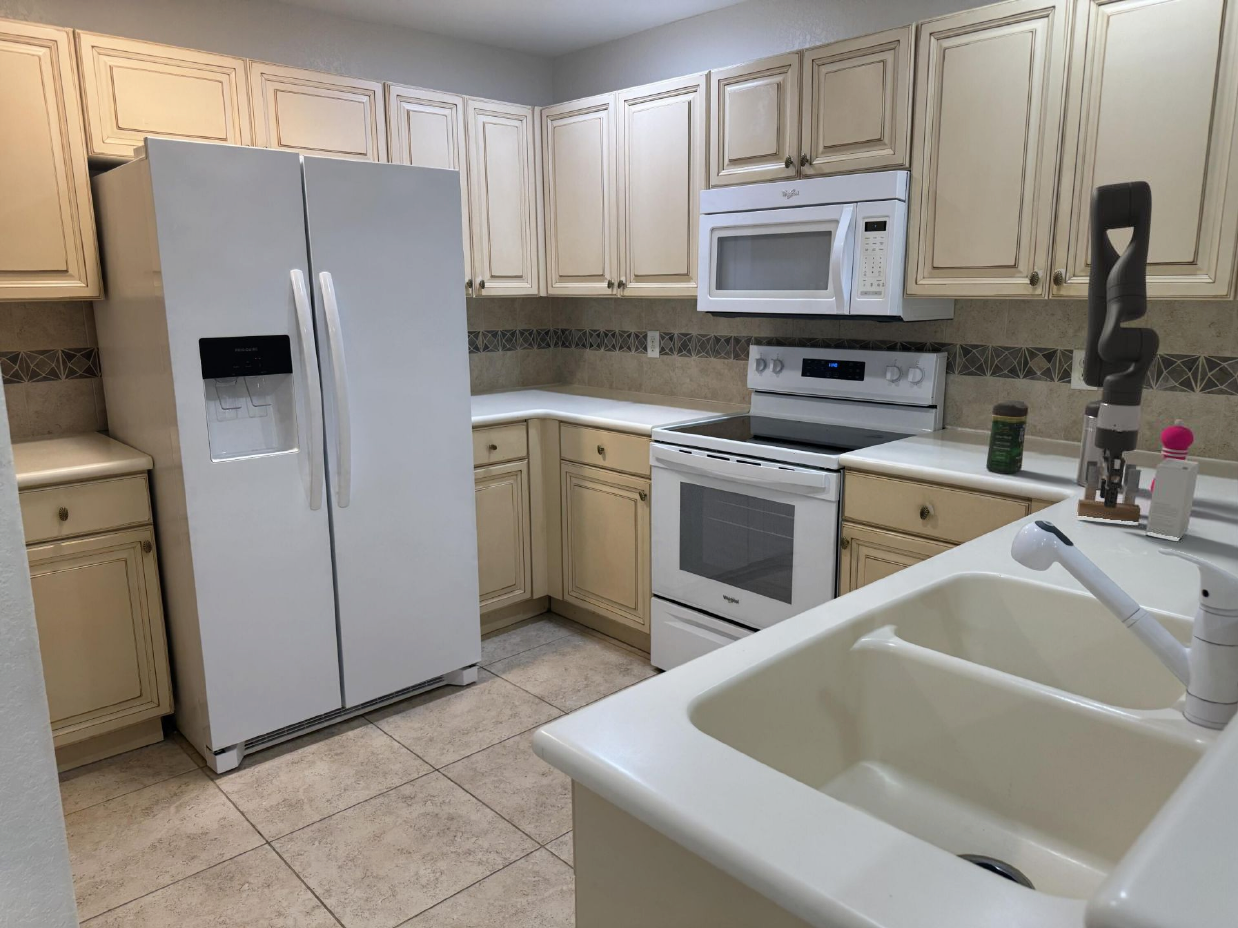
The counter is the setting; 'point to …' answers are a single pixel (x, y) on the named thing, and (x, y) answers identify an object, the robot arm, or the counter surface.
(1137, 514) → the rail
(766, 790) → the counter surface
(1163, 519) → the skincare box
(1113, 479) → the robot arm
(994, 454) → the coffee jar
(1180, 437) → the pepper mill
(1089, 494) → the bracket
